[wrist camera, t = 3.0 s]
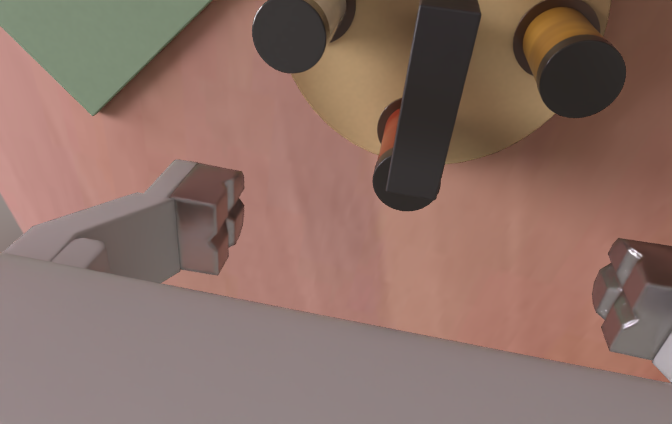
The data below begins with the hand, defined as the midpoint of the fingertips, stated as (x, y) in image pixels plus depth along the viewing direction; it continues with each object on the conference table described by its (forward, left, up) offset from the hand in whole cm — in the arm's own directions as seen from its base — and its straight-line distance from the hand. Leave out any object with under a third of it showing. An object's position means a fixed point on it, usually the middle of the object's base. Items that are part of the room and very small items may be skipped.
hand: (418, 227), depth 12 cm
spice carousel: (0, 0, -20) cm, 20 cm away
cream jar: (+4, -4, -18) cm, 19 cm away
